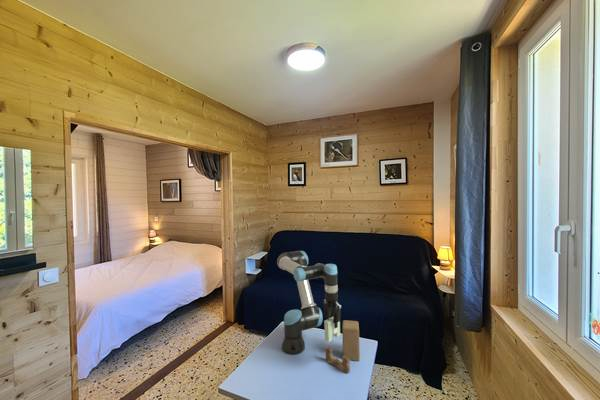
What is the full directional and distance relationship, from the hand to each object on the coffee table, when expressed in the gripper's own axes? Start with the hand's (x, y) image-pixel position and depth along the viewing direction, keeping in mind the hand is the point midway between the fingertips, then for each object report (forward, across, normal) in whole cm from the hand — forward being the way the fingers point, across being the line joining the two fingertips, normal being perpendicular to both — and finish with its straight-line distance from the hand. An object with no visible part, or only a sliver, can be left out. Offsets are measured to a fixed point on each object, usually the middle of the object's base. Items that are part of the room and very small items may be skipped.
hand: (332, 331), depth 145 cm
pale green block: (+4, 0, 0) cm, 4 cm away
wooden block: (+21, 0, +16) cm, 27 cm away
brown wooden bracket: (+21, 0, +3) cm, 21 cm away
